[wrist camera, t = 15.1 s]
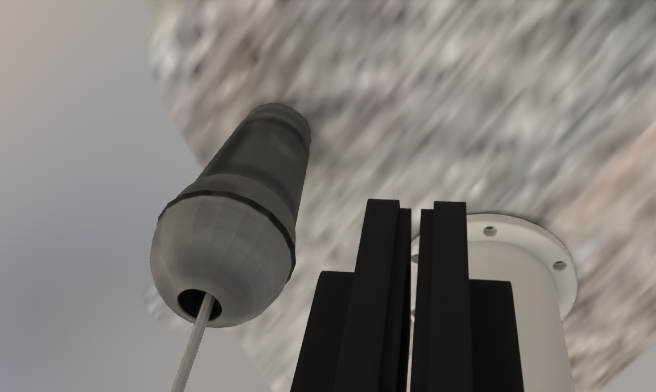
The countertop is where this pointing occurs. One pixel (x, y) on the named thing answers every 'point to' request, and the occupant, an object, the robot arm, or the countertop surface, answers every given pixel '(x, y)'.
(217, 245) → the beverage cup
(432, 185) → the countertop surface
